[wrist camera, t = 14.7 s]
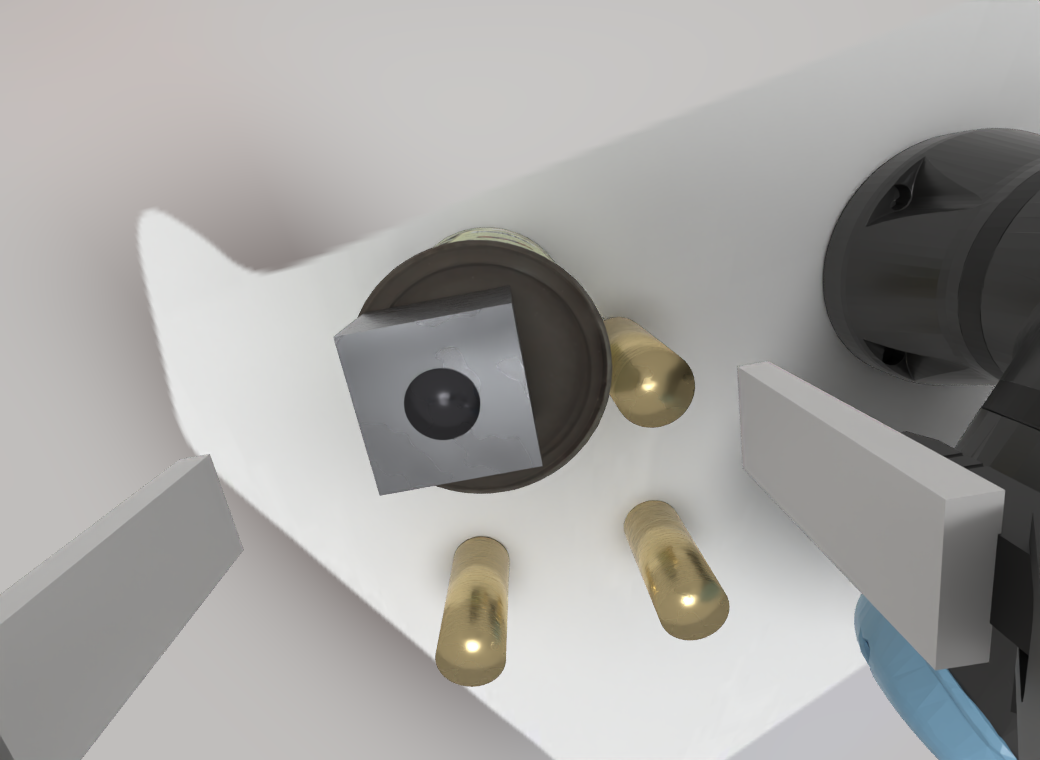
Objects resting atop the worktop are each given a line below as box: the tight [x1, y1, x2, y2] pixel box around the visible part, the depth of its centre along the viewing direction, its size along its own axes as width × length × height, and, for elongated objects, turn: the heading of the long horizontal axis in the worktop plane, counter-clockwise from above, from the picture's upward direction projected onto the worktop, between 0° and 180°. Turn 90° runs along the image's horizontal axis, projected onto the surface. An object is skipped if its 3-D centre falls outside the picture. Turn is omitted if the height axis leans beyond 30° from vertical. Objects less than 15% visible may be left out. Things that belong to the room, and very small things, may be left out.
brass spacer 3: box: [624, 501, 729, 640], centre depth 36 cm, size 4×4×9 cm
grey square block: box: [334, 285, 542, 496], centre depth 20 cm, size 6×6×4 cm
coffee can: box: [358, 228, 612, 494], centre depth 28 cm, size 10×10×14 cm
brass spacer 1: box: [435, 537, 509, 687], centre depth 36 cm, size 4×4×9 cm
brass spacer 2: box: [603, 317, 695, 428], centre depth 32 cm, size 4×4×9 cm
